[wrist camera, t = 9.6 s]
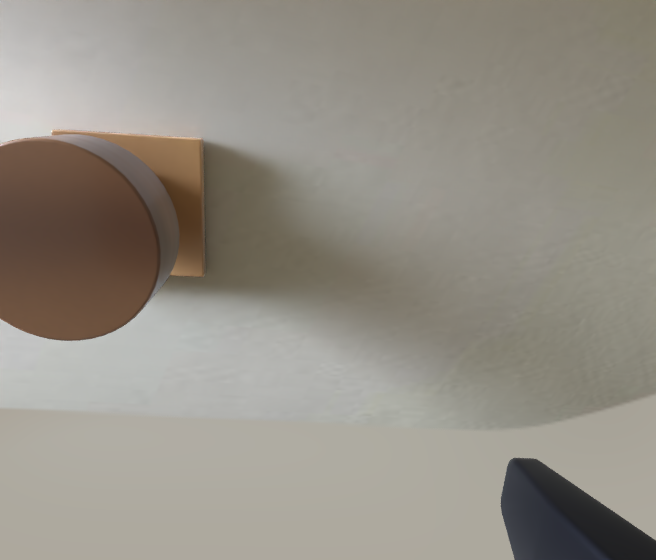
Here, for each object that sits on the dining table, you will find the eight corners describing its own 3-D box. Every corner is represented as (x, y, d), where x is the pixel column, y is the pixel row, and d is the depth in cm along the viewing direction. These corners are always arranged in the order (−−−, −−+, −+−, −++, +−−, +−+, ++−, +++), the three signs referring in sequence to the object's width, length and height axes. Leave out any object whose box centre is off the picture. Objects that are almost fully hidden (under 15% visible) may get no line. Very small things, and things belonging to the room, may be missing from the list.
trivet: (206, 273, 19) (203, 277, 19) (72, 267, 19) (66, 271, 18) (203, 138, 17) (200, 139, 17) (57, 129, 17) (50, 129, 17)
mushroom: (206, 278, 19) (164, 345, 13) (64, 272, 18) (-37, 337, 13) (204, 133, 17) (154, 144, 12) (47, 124, 17) (-76, 130, 11)
